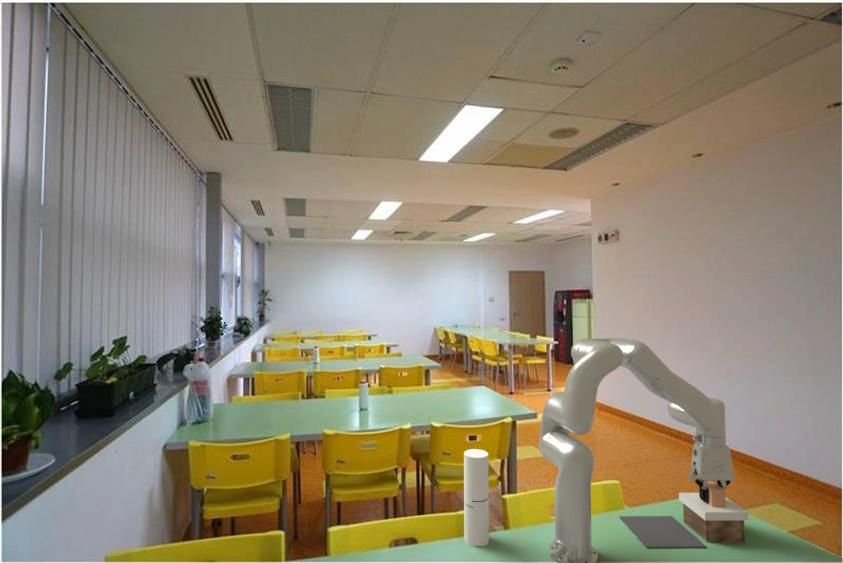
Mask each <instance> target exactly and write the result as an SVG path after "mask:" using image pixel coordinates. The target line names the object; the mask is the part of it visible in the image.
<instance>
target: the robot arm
mask: <svg viewBox="0 0 843 563" xmlns="http://www.w3.org/2000/svg"><path fill="white" fill-rule="evenodd" d="M570 349H571V350H570V355H571V358H572V360H573V362H575V364H574V365H572V367H571V368H570V370H569V372H568V374H567V377H566V382H565V386H564V391H563V392H556V393H553V394H552V395H549V397H548V398H547V400H546V401H545V403H544V406H543V409H542V417H541V423H540V431H539V439H538V440H539V441H538V444H539V445H538V446H539V450H540V453H541V455H542V456H543V457H544V459H545V460H547V461H548V462H550V463H551V464H553V465H554V466H555V467H557V468H558V473H557V476H556V479H555V482H554V534H555V535H554V536H555V537H554V538H555V539H554V540H553V541H551V542H550V544H549V553H550V555H549V556H550V559H551V560H552V561H553V562H555V561H557V562H559V563H598V561H599V555H598V554H599V553H598V551H597V550H596V549H595V548H594V547H593V545H592V543H593V542H592V540H593V538H592V537H593V536H592V477H593V472H594V467H595V457H594V454H593V452H592V450H591V448H590V447H589V446H588V445H587V444H586V443H585V442H583V441H582V440H580V439H578V438H577V437H574V435H578V436H584V435H587V434H589V433H590V431H591V430H592V427H593V426H594V420H595V419H594V418H595V410H596V403H597V395H598V390H599V386H600V384H601V382H602V381H603V379H605V377H607V375H610V374H611V373H612V372H614V371H616V370H617V369H618V368H619V367H623V368H625V369H628V370H629V371H630V372H631V373H632V375H633V376H635V378H636V379H637V380H638V381H639V382H641V384H642V385H643V386H644V387H645V388H646V389H647V391H649V392H650V393H652V394H654V395H655V396H656V397H659V398H661V399H663V400H665V401H667V402H669V403H668V405H667V412H668V415H669V416H670V417H671V419H672V420H674V421H676V422H678V423H681V424H683V425H687V426H690V427H693V428H695V435H693V436H692V440H693V441H695V442H694V443H693V448H692V455H691V469H690V470H689V471H690V472H688V475H687V478H688V479H689V480H691V481H693V482H694V483H695V484H696V485H697V486H698V493H699V496H700V499H701V500H703V501H704V502H705V503H709V492H708V489H707V483H708V481H712V482H714V481H715V484H717V485H719V486H720V487H722V488H723V489H725V490H727V487H728V486H729V484H731V482H733V481H734V480H735V479H737V477H736V475H735V473H734V467H733V459H732V454H731V450H730V447H729V445H727V438H726V436H727V435H726V406H725V403H724V401H722V400H721V399H717V398H714V397H708V396H707V395H706V394H705V393H704V392H702V391H701V390H699V389H698V388H697V387H695V386H693V385H692V384H691V383H689V382H688V381H686V380H685V379H683V378H682V377H680V376H679V375H678V374H675V373H674V372H673V371H672V370H671V369H670V368H669V367H668V366H667V365H666V364H665V363H664V362H663V360H661V359H660V357H658V355H657V354H656V353H655V352H654V351H653V350H652V349H651V348H650V347H649V345H647V344H646V343H644V342H642V341H639V340H636V339H635V340H634V339H628V338H621V337H619V338H618V337H610V338H606V337H605V338H581V339H579V340H576V342H574V343H573V345H572V346H571V348H570ZM571 433H572V434H574V435H573V436H572V435H570V434H571ZM696 476H697V477H696Z"/></svg>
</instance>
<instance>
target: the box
mask: <svg viewBox="0 0 843 563" xmlns="http://www.w3.org/2000/svg"><path fill="white" fill-rule="evenodd" d="M682 506H683V507H682V508H683V512H682V513H683V524H685V525H686V526H688V528H690V529H691V530H692V531H693V532H695V534H697V535H698V536H699V537H700V538H701V539H703V541H705V542H706V543H726V542H727V543H733V542H734V543H742V542H743V543H744V542H745V520H724V521H705V520H704V519H703V518H701V517H700V516H699V515H697V514H696V513H695V512H694V511H692V510H691V509H690V508H689V507H687V506H686V505H685V504H684V503H682Z"/></svg>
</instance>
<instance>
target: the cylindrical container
mask: <svg viewBox="0 0 843 563" xmlns="http://www.w3.org/2000/svg"><path fill="white" fill-rule="evenodd" d="M489 484H490V482H489V452H487V451H486V450H484V449H479V448H478V449H477V448H470V449H467V450H465V451H464V452H463V503H464V504H463V515H464V516H463V520H464V521H463V527H464V528H463V534H464V535H463V538H464V543H465V544H467V543H468V544H467V545H469V546H471V545H472V546H471V547H475V546H481V547H484V546H483V545H485V544H487V543H488V544H489V542H490V532H489V531H490V529H489V528H490V527H489V526H490V524H489V522H490V517H489V515H490V514H489V509H490V508H489V506H490V505H489V495H490V494H489V492H490V490H489ZM488 541H489V542H488ZM488 544H487V545H488ZM485 546H486V545H485Z"/></svg>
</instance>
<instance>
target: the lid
mask: <svg viewBox="0 0 843 563" xmlns="http://www.w3.org/2000/svg"><path fill="white" fill-rule="evenodd" d="M707 489H708V492H709V503H705V502H704V501H703V500H701V499H700V496H699V492H678V500H679V501H680V502H681V503H682V504H683V503H684V504H685V505H686V506H687V507H689V508H690V509H691V510H692V511H694V512H695V513H696V514H697V515H699V516H700V517H701V518H703V519H704V520H705V521H724V520H744V521H749V520H750V517H749V511H747V510H746V509H744V508H742V507H741V506H740V505H738V504H737V503H735V502H733V501H732V500H730V499H729V498H728V497H726V489H723V488H722V487H720V486H719V485H717V483H716V482H714V481H708V483H707Z"/></svg>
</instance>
